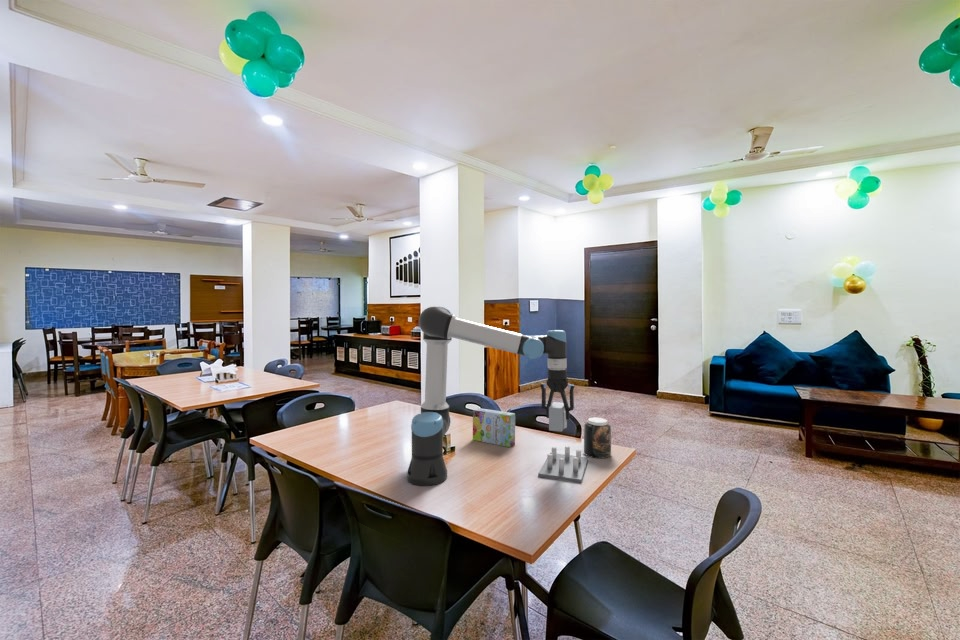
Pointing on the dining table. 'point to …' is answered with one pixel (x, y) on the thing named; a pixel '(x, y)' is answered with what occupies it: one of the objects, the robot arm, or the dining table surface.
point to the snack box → (494, 427)
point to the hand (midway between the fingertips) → (558, 426)
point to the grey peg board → (564, 466)
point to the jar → (597, 438)
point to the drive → (556, 416)
